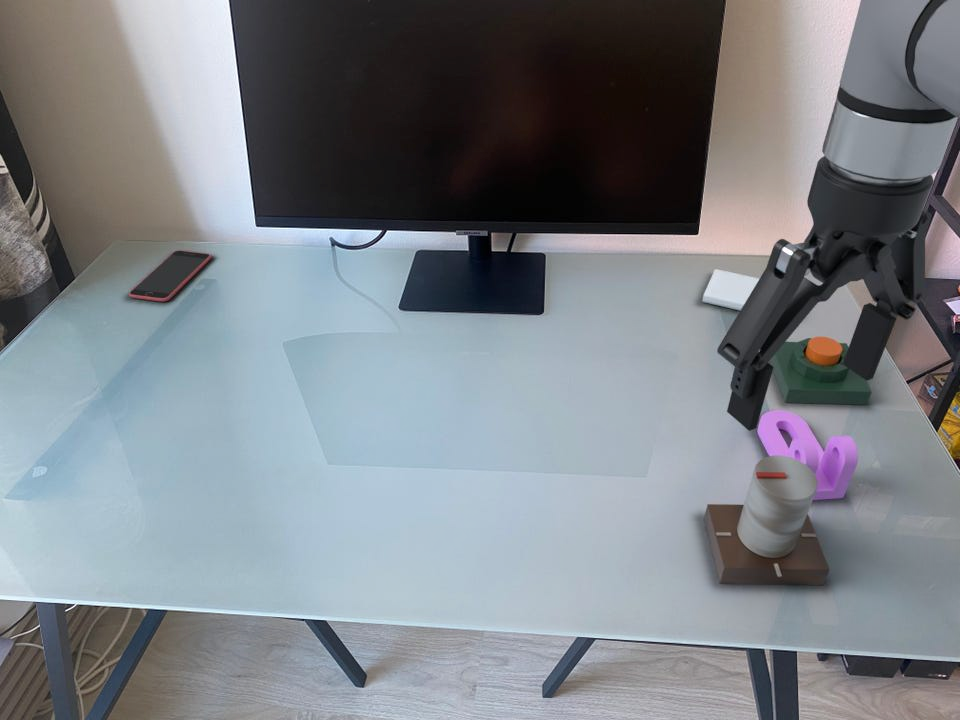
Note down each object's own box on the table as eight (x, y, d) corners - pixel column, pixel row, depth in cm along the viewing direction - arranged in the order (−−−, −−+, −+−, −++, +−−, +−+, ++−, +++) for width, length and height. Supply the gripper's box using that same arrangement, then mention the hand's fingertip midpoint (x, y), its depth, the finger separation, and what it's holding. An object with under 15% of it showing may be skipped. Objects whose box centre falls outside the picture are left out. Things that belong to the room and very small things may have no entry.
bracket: (842, 498, 82) (861, 453, 78) (793, 501, 82) (809, 456, 78) (795, 417, 92) (809, 373, 88) (750, 420, 92) (762, 376, 88)
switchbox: (866, 405, 94) (876, 380, 92) (784, 402, 95) (792, 378, 92) (842, 355, 102) (850, 331, 99) (766, 353, 102) (773, 330, 100)
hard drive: (713, 276, 118) (797, 294, 114) (701, 303, 112) (788, 323, 108) (715, 267, 117) (799, 285, 113) (703, 294, 111) (791, 313, 107)
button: (842, 366, 94) (846, 355, 93) (810, 365, 95) (813, 354, 93) (833, 347, 97) (837, 336, 96) (801, 346, 98) (804, 335, 97)
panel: (796, 514, 81) (802, 497, 79) (826, 593, 73) (833, 576, 71) (701, 513, 81) (705, 496, 79) (721, 591, 73) (726, 575, 72)
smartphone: (125, 294, 116) (175, 249, 126) (126, 297, 116) (176, 252, 127) (166, 299, 114) (213, 253, 125) (167, 303, 115) (213, 256, 125)
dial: (786, 513, 78) (808, 453, 72) (803, 558, 73) (827, 497, 68) (731, 512, 78) (748, 452, 72) (744, 557, 73) (764, 497, 68)
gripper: (949, 114, 59) (868, 331, 73) (699, 181, 51) (658, 414, 64) (1042, 147, 54) (937, 375, 67) (781, 228, 46) (718, 472, 59)
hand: (801, 395), depth 66 cm, fingers open, 13 cm apart
